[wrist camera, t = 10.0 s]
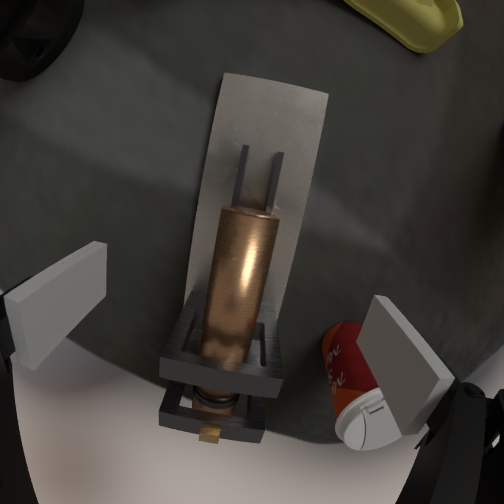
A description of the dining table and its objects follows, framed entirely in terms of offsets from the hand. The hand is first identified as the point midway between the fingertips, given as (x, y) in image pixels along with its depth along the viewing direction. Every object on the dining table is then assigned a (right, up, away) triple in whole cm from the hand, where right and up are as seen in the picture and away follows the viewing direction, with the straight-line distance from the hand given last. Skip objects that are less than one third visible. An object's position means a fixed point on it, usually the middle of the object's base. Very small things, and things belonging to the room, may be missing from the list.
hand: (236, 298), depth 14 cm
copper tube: (-1, -4, +13) cm, 14 cm away
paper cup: (+12, -8, +20) cm, 24 cm away
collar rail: (0, +3, +16) cm, 17 cm away
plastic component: (+15, +33, +8) cm, 37 cm away
